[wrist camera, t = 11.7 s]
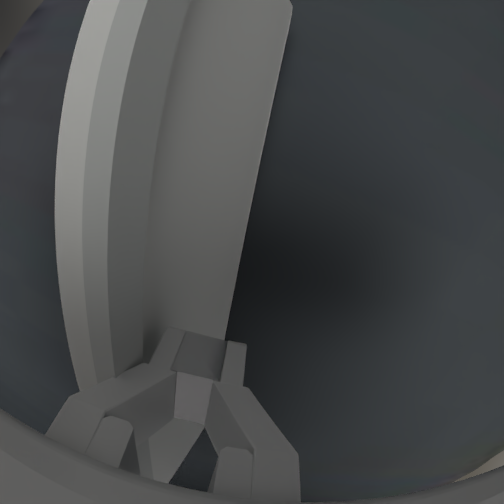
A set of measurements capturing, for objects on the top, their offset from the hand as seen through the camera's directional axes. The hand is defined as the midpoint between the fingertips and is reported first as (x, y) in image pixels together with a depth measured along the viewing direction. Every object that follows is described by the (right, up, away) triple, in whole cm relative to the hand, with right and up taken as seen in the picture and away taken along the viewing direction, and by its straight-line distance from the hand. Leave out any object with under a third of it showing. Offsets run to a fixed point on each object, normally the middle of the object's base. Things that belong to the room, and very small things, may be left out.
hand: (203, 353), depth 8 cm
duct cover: (-1, +1, +2) cm, 3 cm away
